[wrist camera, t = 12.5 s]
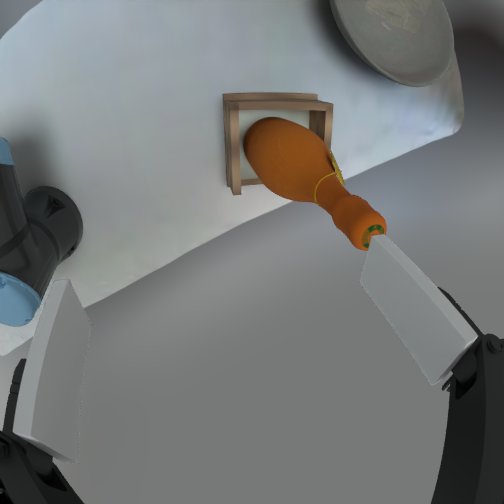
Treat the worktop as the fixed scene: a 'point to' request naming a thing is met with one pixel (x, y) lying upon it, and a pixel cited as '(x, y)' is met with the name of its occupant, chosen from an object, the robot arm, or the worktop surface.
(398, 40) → the bowl
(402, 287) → the robot arm
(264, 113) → the walnut U-rest
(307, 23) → the worktop surface
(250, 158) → the wine bottle
